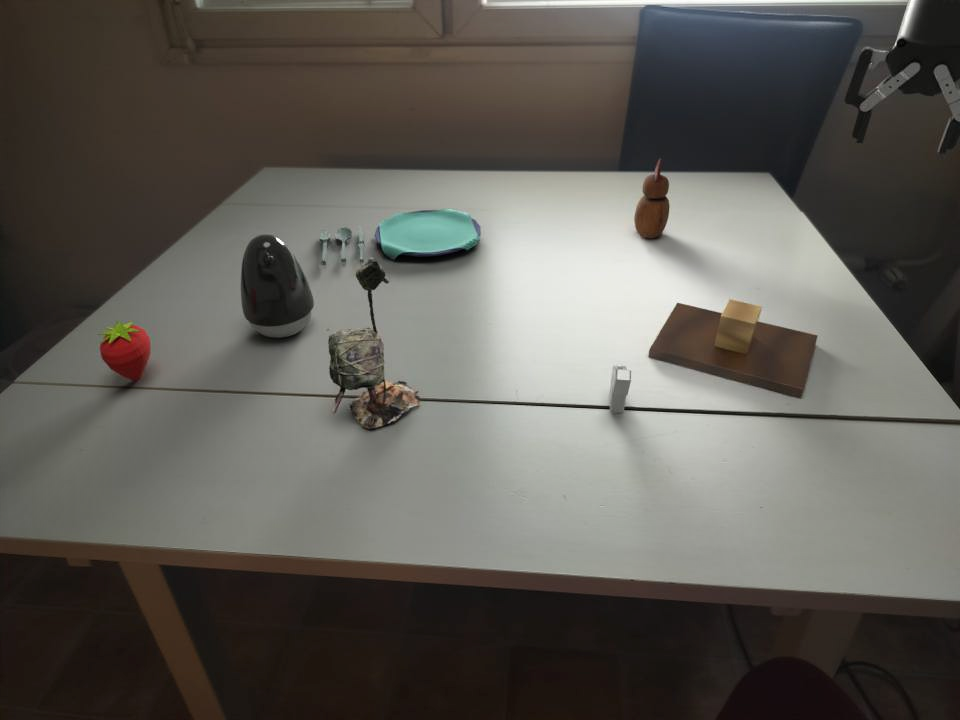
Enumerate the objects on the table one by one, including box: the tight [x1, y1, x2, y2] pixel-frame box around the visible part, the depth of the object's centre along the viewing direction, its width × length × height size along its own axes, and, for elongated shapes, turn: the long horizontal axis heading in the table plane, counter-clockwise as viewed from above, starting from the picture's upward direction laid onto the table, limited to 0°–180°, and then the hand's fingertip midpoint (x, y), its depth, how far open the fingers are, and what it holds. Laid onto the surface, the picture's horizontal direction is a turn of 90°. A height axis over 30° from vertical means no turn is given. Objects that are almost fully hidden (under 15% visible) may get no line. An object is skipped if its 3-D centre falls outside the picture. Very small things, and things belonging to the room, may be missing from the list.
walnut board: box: [647, 302, 818, 399], centre depth 94 cm, size 20×14×2 cm
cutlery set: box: [319, 208, 482, 266], centre depth 124 cm, size 20×30×2 cm, turn 99°
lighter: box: [609, 364, 632, 414], centre depth 82 cm, size 7×2×8 cm, turn 171°
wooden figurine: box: [633, 158, 670, 239], centre depth 121 cm, size 7×6×15 cm
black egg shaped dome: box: [240, 233, 315, 339], centre depth 97 cm, size 10×10×15 cm
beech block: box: [714, 298, 763, 355], centre depth 92 cm, size 4×5×5 cm
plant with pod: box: [326, 257, 421, 430], centre depth 79 cm, size 8×11×20 cm
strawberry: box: [97, 317, 151, 382], centre depth 88 cm, size 6×8×10 cm
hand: (899, 147), depth 79 cm, fingers open, 8 cm apart
